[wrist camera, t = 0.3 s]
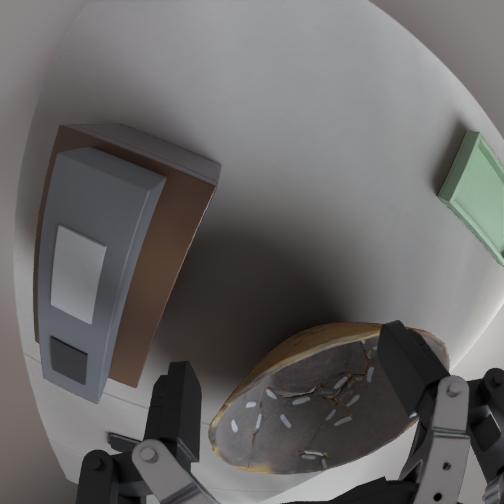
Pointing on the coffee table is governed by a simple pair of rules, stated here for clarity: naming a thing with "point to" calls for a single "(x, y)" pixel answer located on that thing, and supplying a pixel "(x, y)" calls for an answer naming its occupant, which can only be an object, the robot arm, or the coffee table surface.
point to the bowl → (314, 403)
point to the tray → (478, 192)
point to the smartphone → (122, 443)
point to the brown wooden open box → (157, 236)
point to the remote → (89, 262)
